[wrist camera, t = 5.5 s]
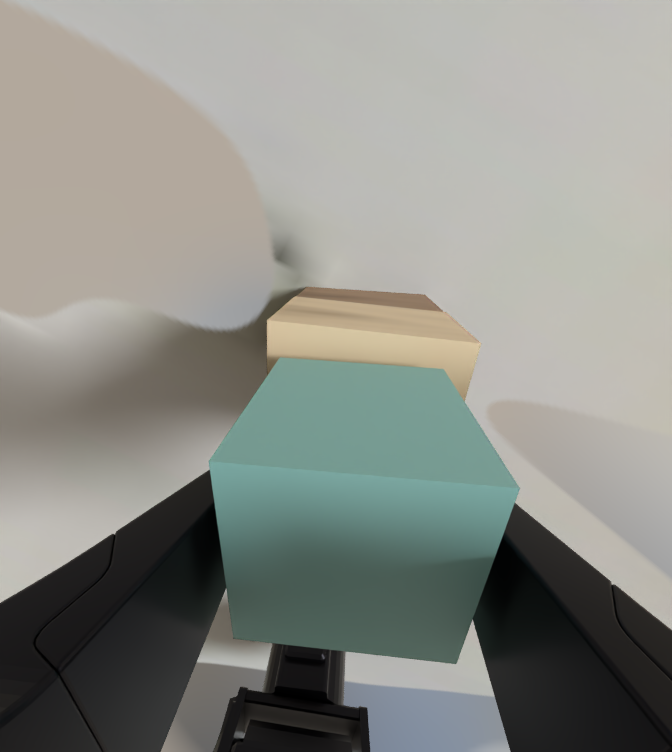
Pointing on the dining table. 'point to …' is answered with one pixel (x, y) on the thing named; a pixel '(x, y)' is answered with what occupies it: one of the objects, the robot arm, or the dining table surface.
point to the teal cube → (358, 510)
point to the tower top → (372, 337)
